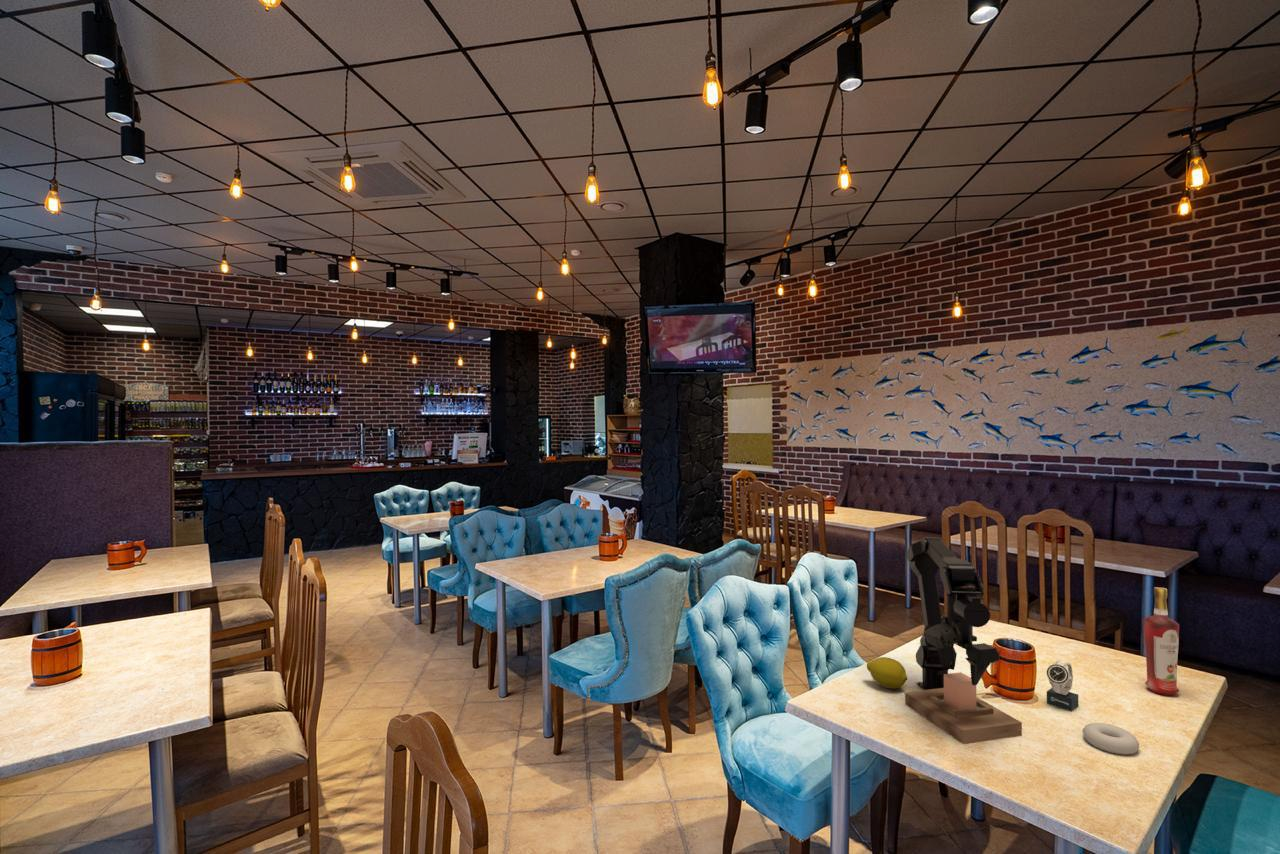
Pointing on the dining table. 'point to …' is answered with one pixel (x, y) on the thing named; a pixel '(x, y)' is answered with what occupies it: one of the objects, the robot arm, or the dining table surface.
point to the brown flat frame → (964, 717)
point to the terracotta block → (959, 691)
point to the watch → (1061, 686)
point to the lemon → (887, 672)
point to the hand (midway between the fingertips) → (960, 677)
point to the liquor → (1161, 647)
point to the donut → (1110, 738)
